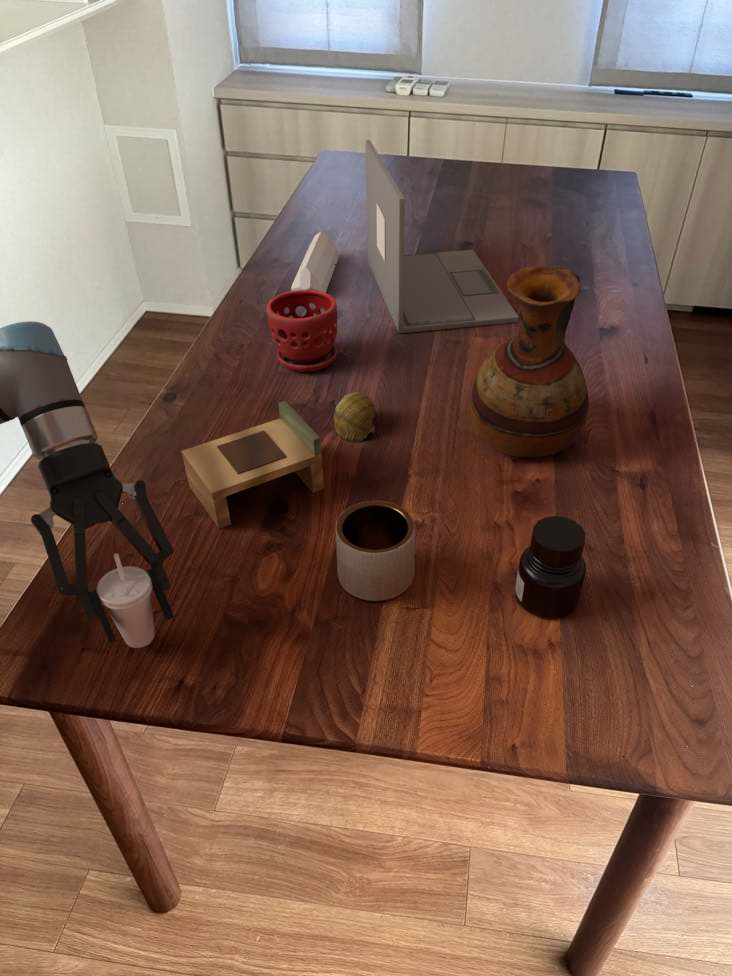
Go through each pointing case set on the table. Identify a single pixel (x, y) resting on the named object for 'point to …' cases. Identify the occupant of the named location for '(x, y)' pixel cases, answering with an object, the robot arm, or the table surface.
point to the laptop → (424, 268)
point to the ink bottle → (552, 568)
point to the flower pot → (304, 329)
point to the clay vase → (533, 371)
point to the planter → (375, 550)
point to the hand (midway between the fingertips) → (141, 629)
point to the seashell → (354, 417)
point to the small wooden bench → (253, 461)
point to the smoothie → (129, 602)
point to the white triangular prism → (317, 265)
